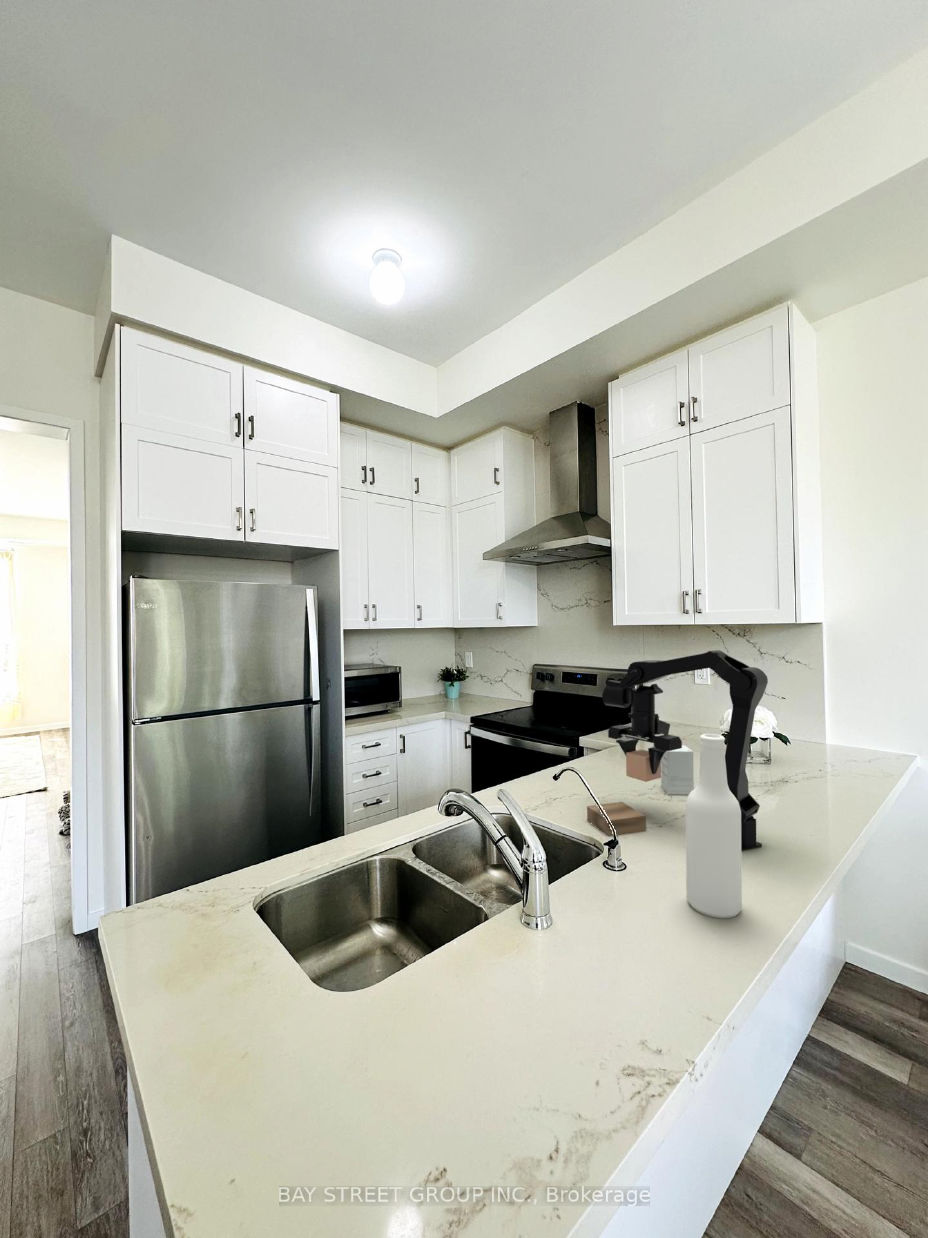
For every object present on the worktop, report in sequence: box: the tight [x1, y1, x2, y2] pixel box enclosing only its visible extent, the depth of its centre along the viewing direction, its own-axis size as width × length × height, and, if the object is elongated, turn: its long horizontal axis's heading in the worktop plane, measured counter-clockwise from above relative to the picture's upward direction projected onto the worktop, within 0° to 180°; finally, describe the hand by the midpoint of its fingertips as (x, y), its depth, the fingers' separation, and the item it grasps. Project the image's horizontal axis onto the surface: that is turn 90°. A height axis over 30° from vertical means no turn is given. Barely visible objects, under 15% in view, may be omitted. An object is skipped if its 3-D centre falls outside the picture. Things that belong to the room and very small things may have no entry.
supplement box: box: [660, 744, 695, 796], centre depth 155 cm, size 7×7×13 cm
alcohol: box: [685, 733, 743, 919], centre depth 93 cm, size 9×9×30 cm
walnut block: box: [586, 801, 647, 837], centre depth 130 cm, size 10×10×4 cm
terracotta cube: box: [625, 749, 661, 783], centre depth 136 cm, size 6×6×6 cm
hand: (643, 770), depth 136 cm, fingers closed on terracotta cube, 6 cm apart
